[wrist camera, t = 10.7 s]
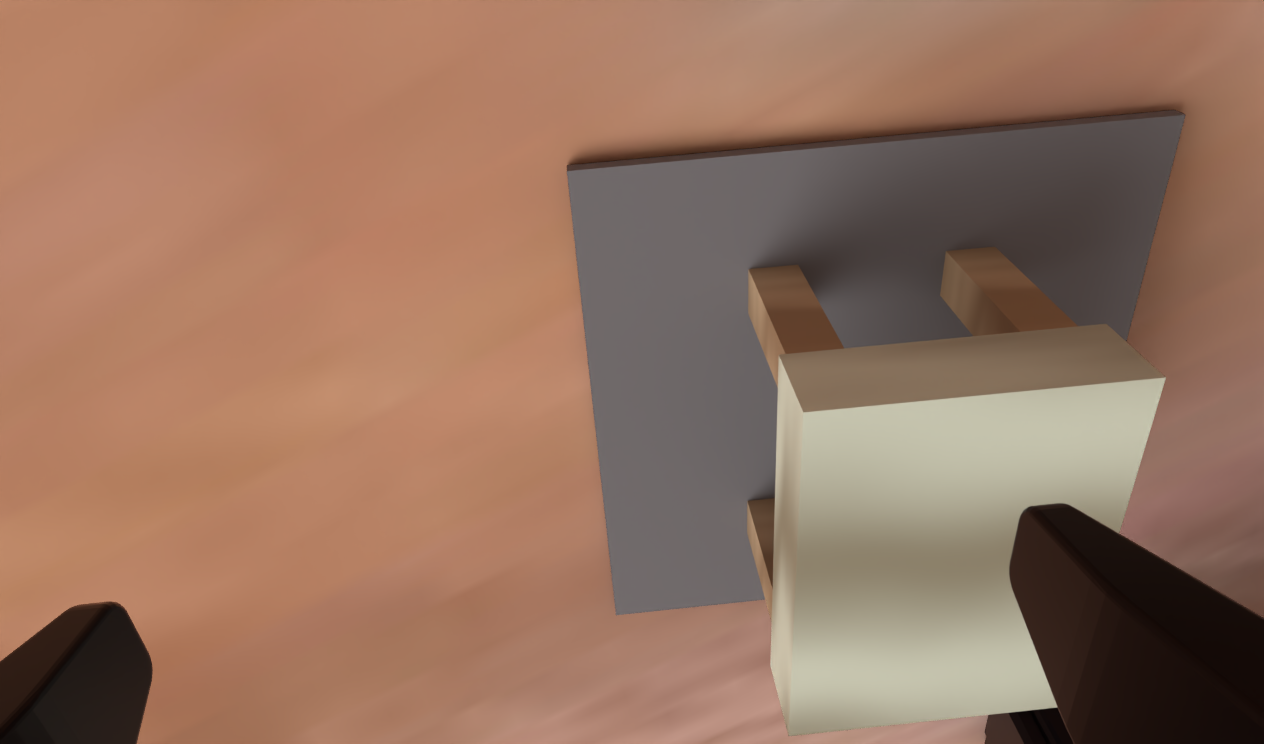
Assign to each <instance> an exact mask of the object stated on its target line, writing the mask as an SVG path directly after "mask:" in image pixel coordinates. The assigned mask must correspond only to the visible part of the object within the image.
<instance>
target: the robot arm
mask: <svg viewBox="0 0 1264 744" xmlns="http://www.w3.org/2000/svg"><path fill="white" fill-rule="evenodd" d="M1009 577H1010V583H1011V587H1012V590H1013V593H1014V595H1015V598H1016V601H1017V603H1018V606H1019V608H1020V611H1021V614H1022V616H1023V619H1024V621H1025V624H1026V627H1027V629H1028V632H1029V634H1030V637H1031V640H1032V642H1033V645H1034V647H1035V650H1036V653H1037V655H1038V658H1039V660H1040V663H1041V666H1042V668H1043V671H1044V673H1045V676H1046V679H1047V681H1048V684H1049V686H1050V689H1051V692H1052V694H1053V697H1054V699H1055V702H1056V705H1057V708H1048V709H1038V710H1029V711H1020V712H1010V713H1001V714H992V715H988V720H987V724H986V729H985V734H986V740H985V744H1264V618H1263V617H1261V616H1260V615H1258V614H1256V613H1255V612H1253V611H1251V610H1249V609H1248V608H1246V607H1244V606H1243V605H1241V604H1239V603H1237V602H1236V601H1234V600H1232V599H1231V598H1229V597H1227V596H1225V595H1224V594H1222V593H1220V592H1219V591H1217V590H1215V589H1213V588H1212V587H1210V586H1208V585H1207V584H1205V583H1203V582H1201V581H1200V580H1198V579H1196V578H1195V577H1193V576H1191V575H1189V574H1188V573H1186V572H1184V571H1183V570H1181V569H1179V568H1177V567H1176V566H1174V565H1172V564H1171V563H1169V562H1167V561H1165V560H1164V559H1162V558H1160V557H1159V556H1157V555H1155V554H1153V553H1152V552H1150V551H1148V550H1147V549H1145V548H1143V547H1141V546H1140V545H1138V544H1136V543H1135V542H1133V541H1131V540H1129V539H1128V538H1126V537H1124V536H1123V535H1121V534H1119V533H1117V532H1116V531H1114V530H1112V529H1111V528H1109V527H1107V526H1105V525H1104V524H1102V523H1100V522H1099V521H1097V520H1095V519H1093V518H1092V517H1090V516H1088V515H1087V514H1085V513H1083V512H1082V511H1080V510H1078V509H1076V508H1075V507H1073V506H1071V505H1068V504H1065V503H1055V504H1045V505H1036V506H1030V507H1027V508H1025V509H1024V510H1023V512H1022V513H1021V515H1020V518H1019V521H1018V526H1017V531H1016V536H1015V540H1014V545H1013V550H1012V554H1011V559H1010V564H1009ZM151 681H152V662H151V658H150V655H149V653H148V651H147V649H146V647H145V645H144V643H143V641H142V639H141V638H140V636H139V634H138V632H137V630H136V628H135V626H134V624H133V622H132V620H131V619H130V617H129V615H128V613H127V611H126V610H125V608H124V607H123V606H121V605H120V604H119V603H117V602H101V603H91V604H82V605H77V606H74V607H71V608H69V609H68V610H66V611H65V612H63V613H62V614H61V615H60V616H58V617H57V618H56V619H54V620H53V621H52V622H51V623H49V624H48V625H47V626H45V627H44V628H43V629H42V630H40V631H39V632H38V633H36V634H35V635H34V636H33V637H31V638H30V639H29V640H27V641H26V642H25V643H24V644H22V645H21V646H20V647H18V648H17V649H16V650H14V651H13V652H12V653H11V654H9V655H8V656H7V657H5V658H4V659H3V660H2V661H0V744H137V740H138V736H139V731H140V727H141V723H142V719H143V715H144V711H145V707H146V703H147V698H148V694H149V690H150V686H151Z"/></svg>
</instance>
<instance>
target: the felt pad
mask: <svg viewBox="0 0 1264 744" xmlns="http://www.w3.org/2000/svg"><path fill="white" fill-rule="evenodd" d="M1184 119H1185V114H1183V113H1181V112H1178V111H1176V110H1168V111H1157V112H1146V113H1135V114H1124V115H1114V116H1103V117H1092V118H1081V119H1070V120H1059V121H1048V122H1037V123H1026V124H1015V125H1004V126H993V127H982V128H971V129H960V130H949V131H938V132H927V133H916V134H905V135H894V136H883V137H872V138H861V139H850V140H839V141H828V142H817V143H806V144H795V145H784V146H773V147H762V148H751V149H740V150H729V151H718V152H707V153H696V154H685V155H674V156H663V157H652V158H641V159H630V160H619V161H609V162H598V163H587V164H576V165H567V176H568V185H569V194H570V203H571V212H572V221H573V230H574V239H575V248H576V257H577V266H578V275H579V284H580V293H581V302H582V311H583V320H584V329H585V338H586V347H587V356H588V365H589V374H590V383H591V392H592V401H593V410H594V419H595V428H596V437H597V446H598V455H599V465H600V474H601V483H602V492H603V501H604V510H605V519H606V528H607V537H608V546H609V555H610V564H611V573H612V582H613V591H614V600H615V609H616V615H622V614H631V613H641V612H650V611H660V610H669V609H679V608H689V607H698V606H708V605H717V604H727V603H736V602H746V601H755V600H765V597H764V593H763V589H762V586H761V582H760V578H759V575H758V571H757V567H756V564H755V560H754V556H753V553H752V549H751V545H750V542H749V538H748V534H747V501H752V500H762V499H772V498H775V478H776V440H777V402H778V387H777V385H776V382H775V380H774V377H773V375H772V372H771V370H770V367H769V364H768V362H767V359H766V357H765V354H764V352H763V349H762V347H761V344H760V342H759V339H758V337H757V334H756V332H755V329H754V327H753V324H752V322H751V319H750V317H749V314H748V269H756V268H767V267H778V266H789V265H799V267H800V269H801V271H802V273H803V274H804V276H805V278H806V280H807V282H808V283H809V285H810V287H811V289H812V291H813V292H814V294H815V296H816V298H817V300H818V301H819V303H820V305H821V307H822V309H823V311H824V312H825V314H826V316H827V318H828V320H829V321H830V323H831V325H832V327H833V329H834V330H835V332H836V334H837V336H838V338H839V339H840V341H841V343H842V345H843V347H844V348H855V347H865V346H876V345H887V344H897V343H908V342H918V341H929V340H940V339H950V338H961V337H971V336H973V335H972V334H971V333H970V331H969V330H968V329H967V328H966V327H965V325H964V324H963V323H962V322H961V320H960V319H959V318H958V317H957V316H956V314H955V313H954V312H953V311H952V310H951V308H950V307H949V306H948V305H947V303H946V302H945V301H944V300H943V299H942V297H941V296H940V292H941V285H942V277H943V270H944V262H945V255H946V251H953V250H964V249H975V248H986V247H996V248H997V249H998V250H999V251H1000V252H1001V253H1002V254H1003V255H1004V256H1005V257H1006V258H1007V259H1008V260H1009V261H1010V262H1012V263H1013V264H1014V265H1015V266H1016V267H1017V268H1018V269H1019V270H1020V271H1021V272H1022V273H1023V274H1024V275H1025V276H1026V277H1027V278H1028V279H1029V280H1030V281H1031V282H1032V283H1034V284H1035V285H1036V286H1037V287H1038V288H1039V289H1040V290H1041V291H1042V292H1043V293H1044V294H1045V295H1046V296H1047V297H1048V298H1049V299H1050V300H1051V301H1052V302H1053V303H1054V304H1055V305H1057V306H1058V307H1059V308H1060V309H1061V310H1062V311H1063V312H1064V313H1065V314H1066V315H1067V316H1068V317H1069V318H1070V319H1071V320H1072V321H1073V322H1074V323H1075V324H1076V325H1077V326H1088V325H1098V324H1107V325H1108V326H1109V327H1111V328H1112V329H1113V330H1114V331H1115V332H1116V333H1117V334H1118V335H1119V336H1120V337H1122V338H1123V339H1124V340H1125V341H1127V337H1128V333H1129V329H1130V325H1131V322H1132V318H1133V314H1134V310H1135V306H1136V302H1137V299H1138V295H1139V291H1140V287H1141V283H1142V279H1143V276H1144V272H1145V268H1146V264H1147V260H1148V256H1149V253H1150V249H1151V245H1152V241H1153V237H1154V234H1155V230H1156V226H1157V222H1158V218H1159V214H1160V211H1161V207H1162V203H1163V199H1164V195H1165V191H1166V188H1167V184H1168V180H1169V176H1170V172H1171V168H1172V165H1173V161H1174V157H1175V153H1176V149H1177V145H1178V142H1179V138H1180V134H1181V130H1182V126H1183V123H1184Z"/></svg>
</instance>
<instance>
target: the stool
mask: <svg viewBox="0 0 1264 744" xmlns="http://www.w3.org/2000/svg"><path fill="white" fill-rule="evenodd" d="M940 296H941V297H942V299H943V300H944V301H945V302H946V303H947V305H948V306H949V307H950V308H951V310H952V311H953V312H954V313H955V314H956V316H957V317H958V318H959V319H960V320H961V322H962V323H963V324H964V325H965V327H966V328H967V329H968V330H969V331H970V333H971V334H972V335H973V336H971V337H961V338H950V339H940V340H929V341H918V342H908V343H897V344H887V345H876V346H865V347H855V348H844V347H843V345H842V343H841V341H840V339H839V338H838V336H837V334H836V332H835V330H834V329H833V327H832V325H831V323H830V321H829V320H828V318H827V316H826V314H825V312H824V311H823V309H822V307H821V305H820V303H819V301H818V300H817V298H816V296H815V294H814V292H813V291H812V289H811V287H810V285H809V283H808V282H807V280H806V278H805V276H804V274H803V273H802V271H801V269H800V267H799V265H789V266H778V267H767V268H756V269H748V314H749V317H750V319H751V322H752V324H753V327H754V329H755V332H756V334H757V337H758V339H759V342H760V344H761V347H762V349H763V352H764V354H765V357H766V359H767V362H768V364H769V367H770V370H771V372H772V375H773V377H774V380H775V382H776V385H777V387H778V402H777V440H776V478H775V498H772V499H762V500H752V501H747V534H748V538H749V542H750V545H751V549H752V553H753V556H754V560H755V564H756V567H757V571H758V575H759V578H760V582H761V586H762V589H763V593H764V597H765V600H766V604H767V608H768V611H769V615H770V619H771V622H772V630H771V670H772V673H773V677H774V681H775V685H776V689H777V693H778V697H779V701H780V705H781V708H782V712H783V716H784V720H785V724H786V728H787V732H788V736H795V735H805V734H814V733H823V732H833V731H842V730H851V729H861V728H870V727H879V726H889V725H898V724H907V723H917V722H926V721H935V720H945V719H954V718H963V717H973V716H982V715H992V714H1001V713H1010V712H1020V711H1029V710H1038V709H1048V708H1057V705H1056V702H1055V699H1054V697H1053V694H1052V692H1051V689H1050V686H1049V684H1048V681H1047V679H1046V676H1045V673H1044V671H1043V668H1042V666H1041V663H1040V660H1039V658H1038V655H1037V653H1036V650H1035V647H1034V645H1033V642H1032V640H1031V637H1030V634H1029V632H1028V629H1027V627H1026V624H1025V621H1024V619H1023V616H1022V614H1021V611H1020V608H1019V606H1018V603H1017V601H1016V598H1015V595H1014V593H1013V590H1012V587H1011V583H1010V577H1009V564H1010V559H1011V554H1012V550H1013V545H1014V540H1015V536H1016V531H1017V526H1018V521H1019V518H1020V515H1021V513H1022V512H1023V510H1024V509H1025V508H1027V507H1030V506H1036V505H1045V504H1055V503H1065V504H1068V505H1071V506H1073V507H1075V508H1076V509H1078V510H1080V511H1082V512H1083V513H1085V514H1087V515H1088V516H1090V517H1092V518H1093V519H1095V520H1097V521H1099V522H1100V523H1102V524H1104V525H1105V526H1107V527H1109V528H1111V529H1112V530H1114V531H1116V532H1117V533H1119V532H1120V529H1121V526H1122V522H1123V519H1124V516H1125V512H1126V509H1127V506H1128V502H1129V499H1130V496H1131V492H1132V489H1133V486H1134V482H1135V479H1136V476H1137V472H1138V469H1139V466H1140V462H1141V459H1142V456H1143V452H1144V449H1145V446H1146V442H1147V439H1148V436H1149V432H1150V429H1151V426H1152V422H1153V419H1154V416H1155V412H1156V409H1157V406H1158V402H1159V399H1160V396H1161V392H1162V389H1163V386H1164V382H1165V379H1166V377H1165V376H1164V375H1163V374H1161V373H1160V372H1159V371H1158V370H1157V369H1156V368H1155V367H1154V366H1153V365H1151V364H1150V363H1149V362H1148V361H1147V360H1146V359H1145V358H1144V357H1143V356H1142V355H1140V354H1139V353H1138V352H1137V351H1136V350H1135V349H1134V348H1133V347H1132V346H1130V345H1129V344H1128V343H1127V342H1126V341H1125V340H1124V339H1123V338H1122V337H1120V336H1119V335H1118V334H1117V333H1116V332H1115V331H1114V330H1113V329H1112V328H1111V327H1109V326H1108V325H1107V324H1098V325H1088V326H1077V325H1076V324H1075V323H1074V322H1073V321H1072V320H1071V319H1070V318H1069V317H1068V316H1067V315H1066V314H1065V313H1064V312H1063V311H1062V310H1061V309H1060V308H1059V307H1058V306H1057V305H1055V304H1054V303H1053V302H1052V301H1051V300H1050V299H1049V298H1048V297H1047V296H1046V295H1045V294H1044V293H1043V292H1042V291H1041V290H1040V289H1039V288H1038V287H1037V286H1036V285H1035V284H1034V283H1032V282H1031V281H1030V280H1029V279H1028V278H1027V277H1026V276H1025V275H1024V274H1023V273H1022V272H1021V271H1020V270H1019V269H1018V268H1017V267H1016V266H1015V265H1014V264H1013V263H1012V262H1010V261H1009V260H1008V259H1007V258H1006V257H1005V256H1004V255H1003V254H1002V253H1001V252H1000V251H999V250H998V249H997V248H996V247H986V248H975V249H964V250H953V251H946V255H945V262H944V270H943V277H942V285H941V292H940Z"/></svg>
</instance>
